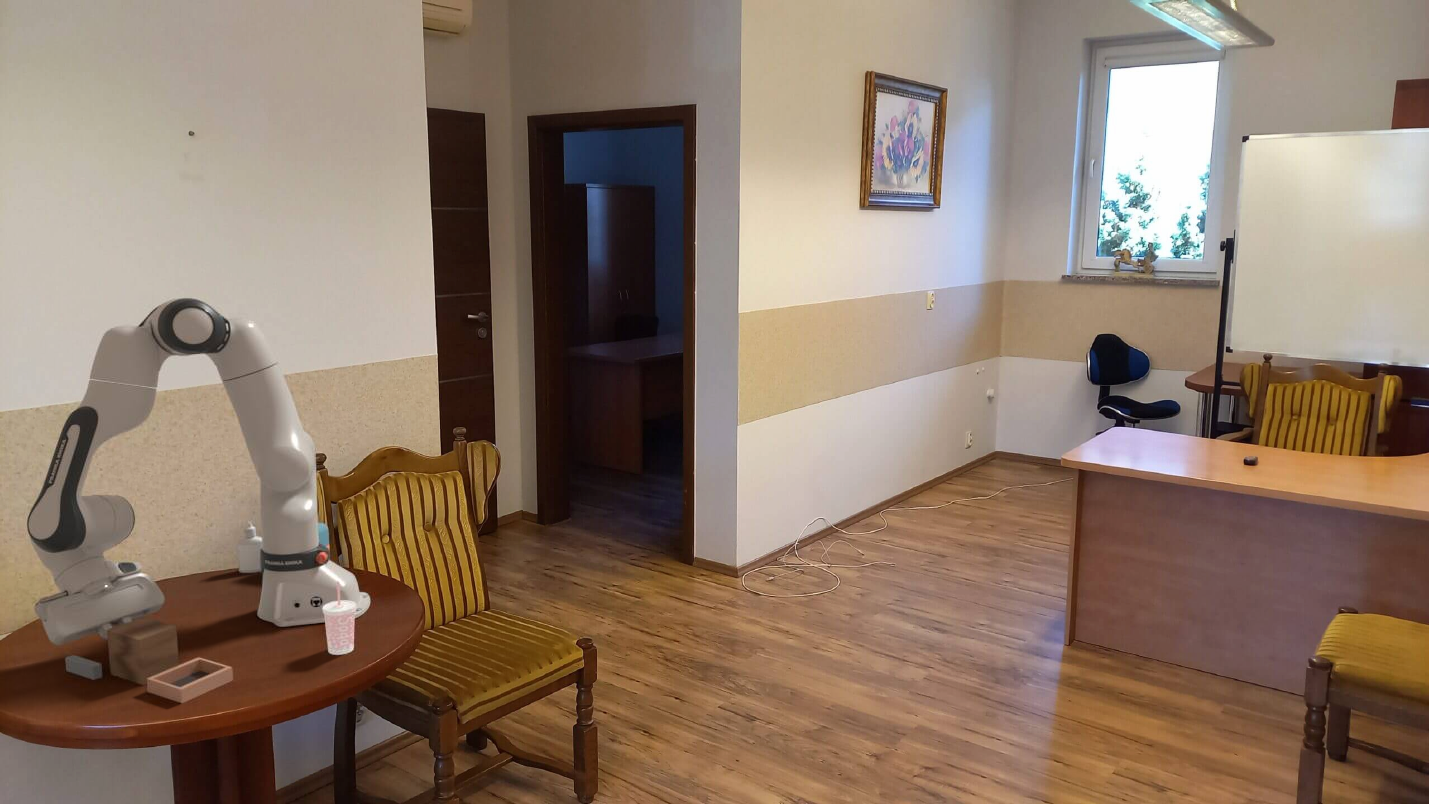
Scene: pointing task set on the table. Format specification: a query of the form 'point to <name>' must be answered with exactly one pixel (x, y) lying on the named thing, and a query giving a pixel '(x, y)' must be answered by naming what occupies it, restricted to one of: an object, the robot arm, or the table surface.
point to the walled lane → (83, 667)
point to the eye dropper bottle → (249, 551)
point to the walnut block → (142, 649)
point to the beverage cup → (339, 625)
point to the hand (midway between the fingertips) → (126, 643)
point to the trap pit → (189, 680)
